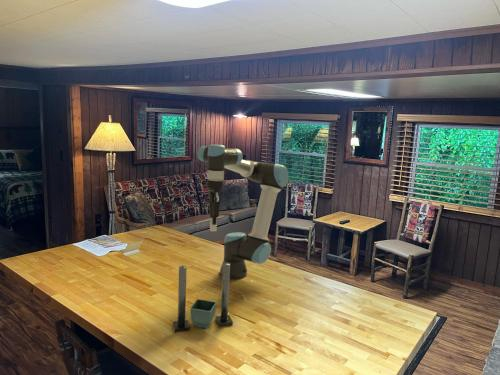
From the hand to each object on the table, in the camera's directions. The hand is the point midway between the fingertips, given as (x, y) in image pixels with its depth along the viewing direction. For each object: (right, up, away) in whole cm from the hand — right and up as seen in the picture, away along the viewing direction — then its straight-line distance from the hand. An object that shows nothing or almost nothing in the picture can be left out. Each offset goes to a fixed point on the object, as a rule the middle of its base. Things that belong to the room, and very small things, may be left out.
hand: (213, 230), depth 176 cm
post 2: (+6, -37, -12) cm, 40 cm away
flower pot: (-3, -38, -15) cm, 41 cm away
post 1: (-11, -38, -18) cm, 43 cm away
